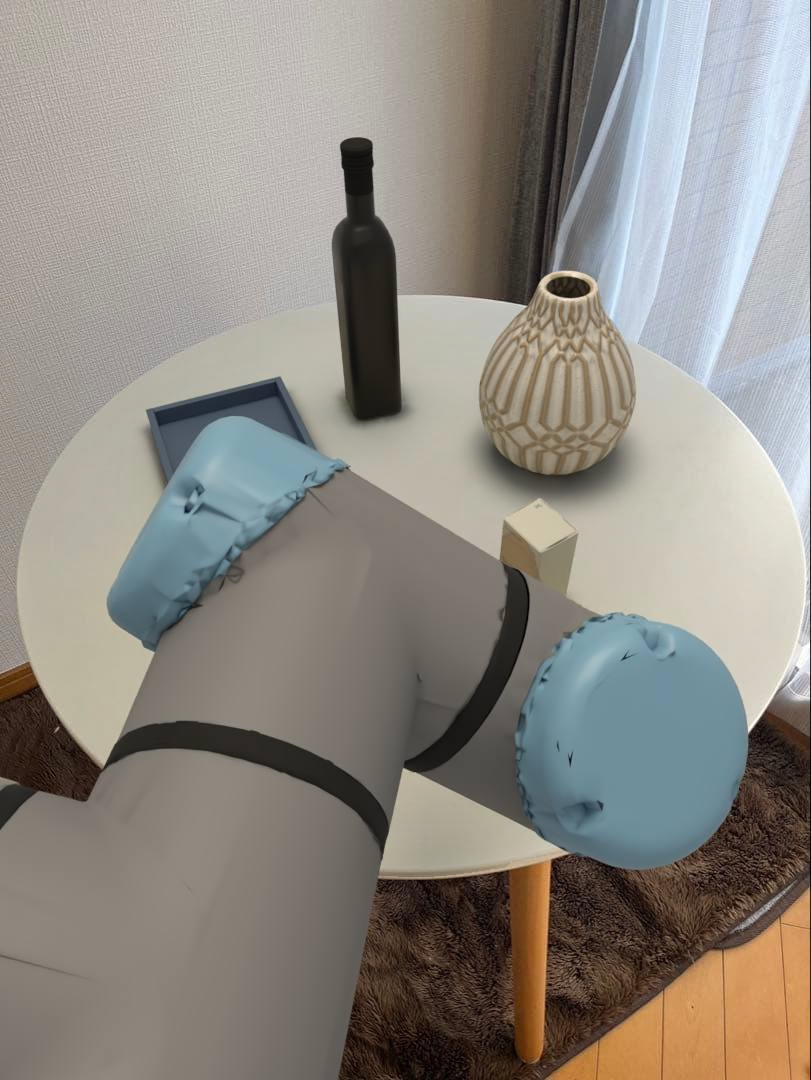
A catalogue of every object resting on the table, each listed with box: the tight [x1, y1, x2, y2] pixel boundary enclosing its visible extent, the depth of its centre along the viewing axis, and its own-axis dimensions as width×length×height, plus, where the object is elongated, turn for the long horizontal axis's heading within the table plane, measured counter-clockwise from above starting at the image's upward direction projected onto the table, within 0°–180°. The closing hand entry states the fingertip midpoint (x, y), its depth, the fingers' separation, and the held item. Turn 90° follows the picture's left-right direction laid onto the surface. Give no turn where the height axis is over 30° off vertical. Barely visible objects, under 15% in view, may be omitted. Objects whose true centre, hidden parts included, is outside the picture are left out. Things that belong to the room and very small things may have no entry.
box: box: [498, 497, 579, 597], centre depth 79 cm, size 5×4×11 cm
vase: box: [478, 270, 637, 476], centre depth 90 cm, size 16×16×20 cm
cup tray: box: [145, 375, 318, 484], centre depth 98 cm, size 16×16×3 cm
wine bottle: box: [331, 136, 403, 421], centre depth 93 cm, size 6×6×30 cm
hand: (329, 660), depth 60 cm, fingers open, 13 cm apart
